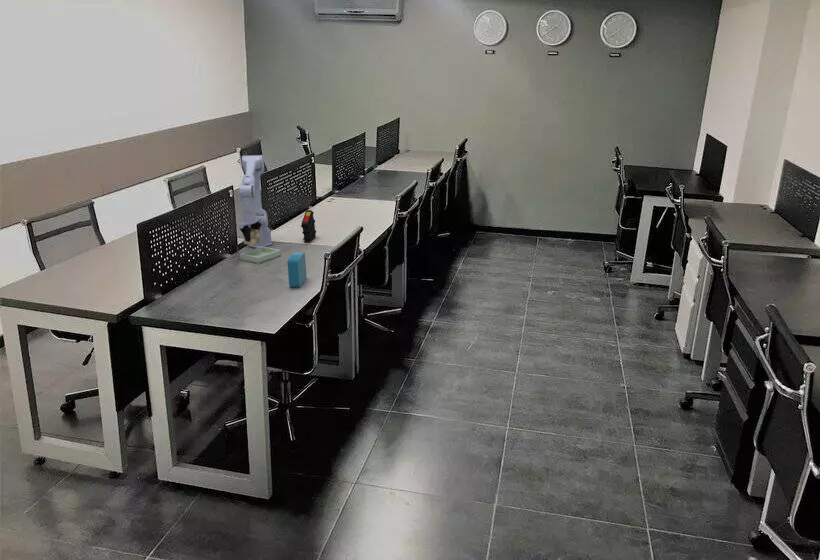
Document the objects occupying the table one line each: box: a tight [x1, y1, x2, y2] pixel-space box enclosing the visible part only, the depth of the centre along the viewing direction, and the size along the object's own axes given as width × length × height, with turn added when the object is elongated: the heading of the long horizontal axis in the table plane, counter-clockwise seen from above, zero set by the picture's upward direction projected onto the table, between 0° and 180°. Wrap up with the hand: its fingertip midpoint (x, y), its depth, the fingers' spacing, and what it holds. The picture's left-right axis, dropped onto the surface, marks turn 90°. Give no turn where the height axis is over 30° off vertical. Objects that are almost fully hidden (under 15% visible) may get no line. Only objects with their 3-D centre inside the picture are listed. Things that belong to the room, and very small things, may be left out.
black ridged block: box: [300, 209, 317, 244], centre depth 334 cm, size 4×13×15 cm, turn 172°
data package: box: [287, 251, 307, 288], centre depth 273 cm, size 12×4×12 cm, turn 175°
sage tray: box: [239, 246, 282, 265], centre depth 308 cm, size 14×12×3 cm
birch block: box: [242, 229, 259, 245], centre depth 307 cm, size 5×5×6 cm
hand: (251, 239), depth 307 cm, fingers closed on birch block, 5 cm apart
